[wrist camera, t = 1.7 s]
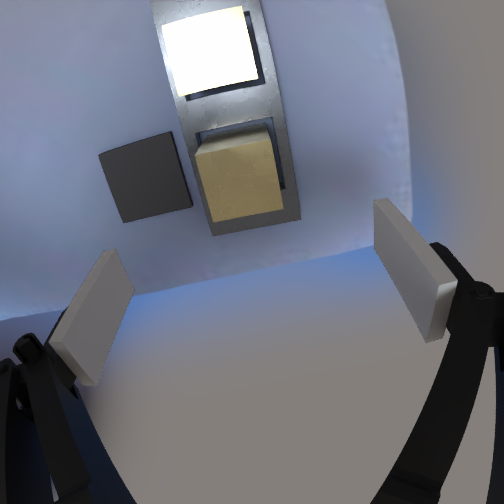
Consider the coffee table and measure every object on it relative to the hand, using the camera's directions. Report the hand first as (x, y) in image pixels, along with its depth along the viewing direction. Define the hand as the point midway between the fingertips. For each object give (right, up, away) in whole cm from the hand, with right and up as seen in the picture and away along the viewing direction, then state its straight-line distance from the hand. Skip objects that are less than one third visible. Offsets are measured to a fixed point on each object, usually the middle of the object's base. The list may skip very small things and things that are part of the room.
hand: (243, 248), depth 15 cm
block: (-3, +17, +9) cm, 20 cm away
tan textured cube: (-1, +9, +14) cm, 17 cm away
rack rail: (-2, +13, +12) cm, 18 cm away
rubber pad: (-10, +7, +15) cm, 20 cm away
